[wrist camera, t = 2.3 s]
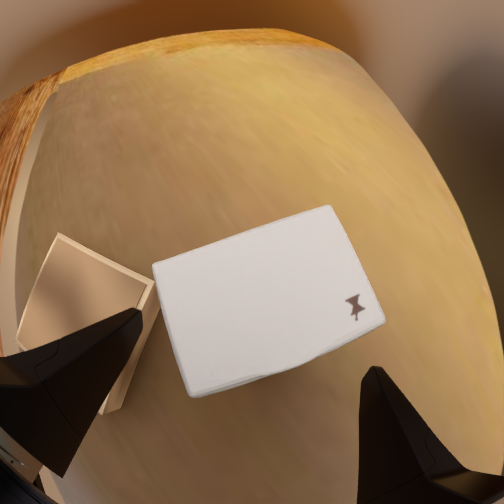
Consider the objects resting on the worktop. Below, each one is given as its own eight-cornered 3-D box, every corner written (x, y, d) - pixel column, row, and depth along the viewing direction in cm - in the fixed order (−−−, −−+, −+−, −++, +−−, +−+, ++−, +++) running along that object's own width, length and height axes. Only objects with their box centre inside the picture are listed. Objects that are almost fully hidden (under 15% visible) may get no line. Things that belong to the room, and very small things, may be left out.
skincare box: (286, 286, 19) (335, 198, 8) (308, 340, 18) (394, 324, 7) (206, 314, 19) (145, 260, 7) (226, 371, 17) (190, 406, 6)
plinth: (120, 408, 16) (101, 415, 13) (36, 344, 17) (13, 340, 14) (167, 291, 19) (153, 280, 16) (76, 245, 20) (57, 231, 17)
